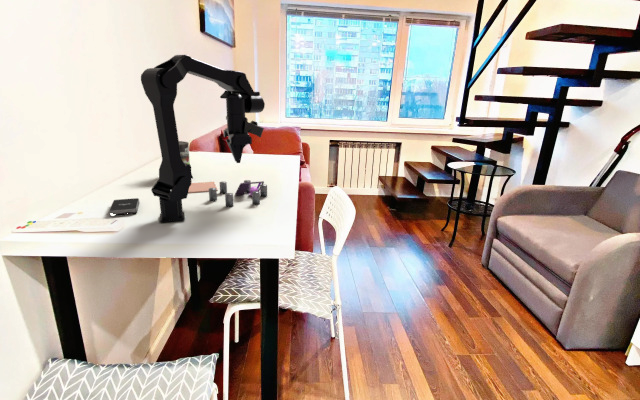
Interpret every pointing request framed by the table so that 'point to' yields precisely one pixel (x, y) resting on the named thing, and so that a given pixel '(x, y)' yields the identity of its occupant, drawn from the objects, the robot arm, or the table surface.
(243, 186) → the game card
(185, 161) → the coffee can
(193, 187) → the mat
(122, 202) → the external hard drive
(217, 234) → the table surface
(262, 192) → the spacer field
